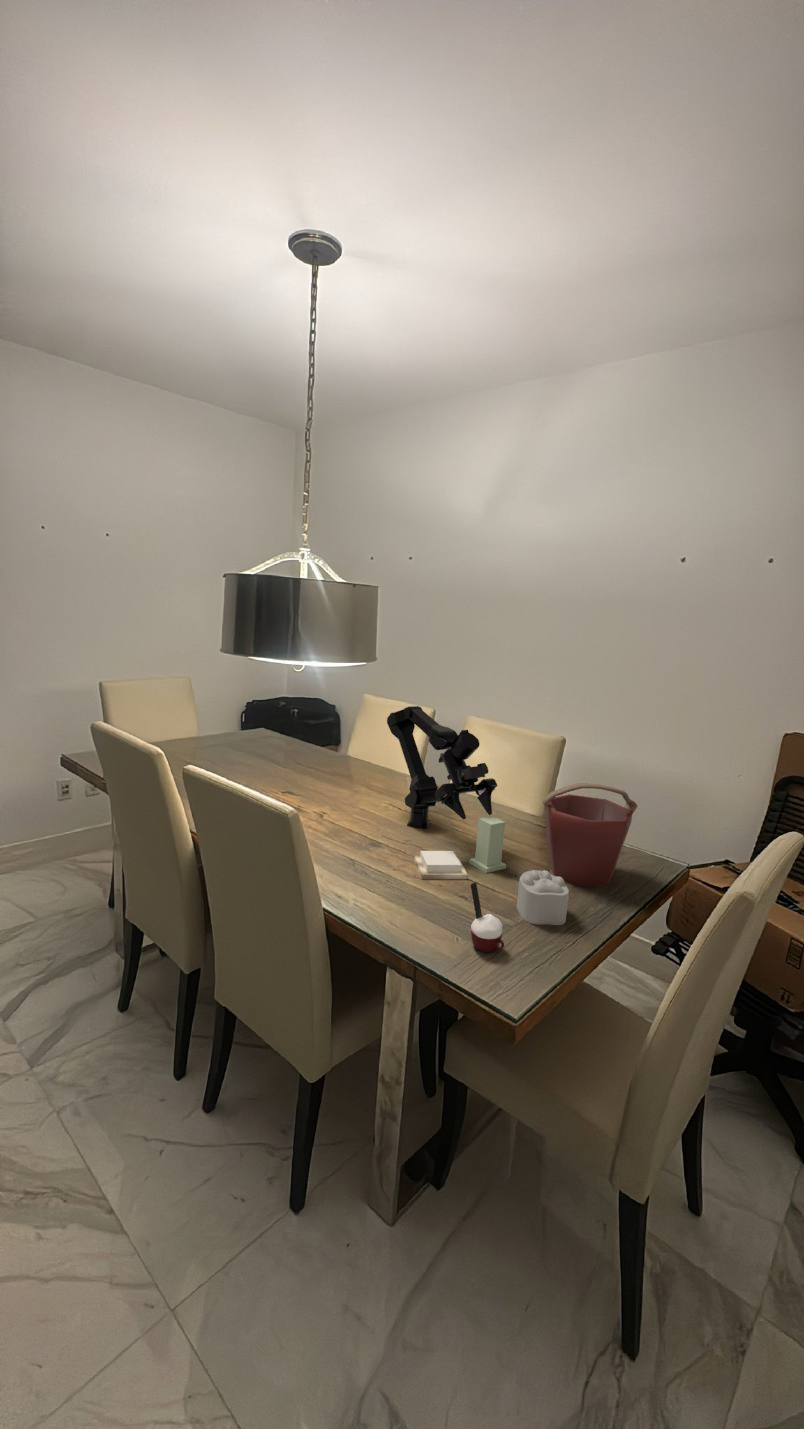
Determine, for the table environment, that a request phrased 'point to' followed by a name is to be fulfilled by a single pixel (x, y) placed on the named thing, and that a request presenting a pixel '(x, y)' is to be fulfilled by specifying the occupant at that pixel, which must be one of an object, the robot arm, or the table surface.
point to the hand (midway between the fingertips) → (477, 816)
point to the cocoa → (485, 927)
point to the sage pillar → (489, 845)
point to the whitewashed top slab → (440, 861)
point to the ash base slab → (439, 875)
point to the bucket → (585, 834)
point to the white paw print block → (542, 898)
